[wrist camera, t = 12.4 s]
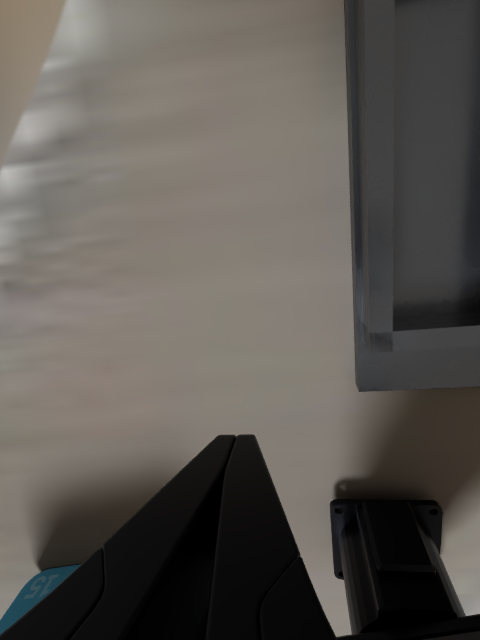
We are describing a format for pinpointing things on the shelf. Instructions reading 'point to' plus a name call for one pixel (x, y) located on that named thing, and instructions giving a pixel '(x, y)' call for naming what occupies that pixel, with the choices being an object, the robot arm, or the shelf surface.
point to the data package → (34, 593)
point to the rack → (414, 191)
